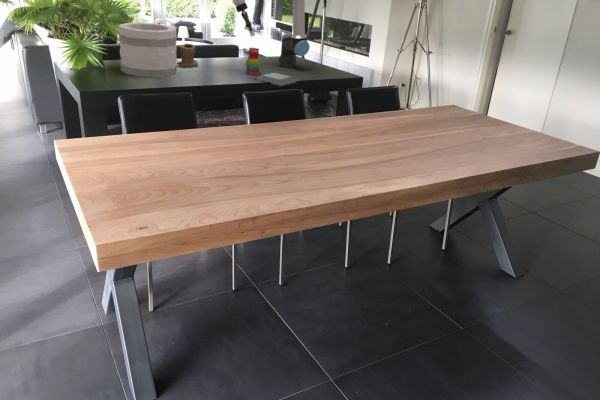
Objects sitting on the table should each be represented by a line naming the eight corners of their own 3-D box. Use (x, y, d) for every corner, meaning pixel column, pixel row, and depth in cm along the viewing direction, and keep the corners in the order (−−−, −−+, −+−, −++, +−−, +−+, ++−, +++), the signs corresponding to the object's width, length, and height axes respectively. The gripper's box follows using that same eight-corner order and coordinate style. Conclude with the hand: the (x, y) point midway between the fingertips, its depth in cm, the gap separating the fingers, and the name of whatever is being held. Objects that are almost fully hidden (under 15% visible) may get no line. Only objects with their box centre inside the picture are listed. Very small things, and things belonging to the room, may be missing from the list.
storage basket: (164, 64, 347) (163, 23, 335) (185, 76, 323) (185, 31, 311) (113, 66, 328) (110, 22, 316) (132, 78, 303) (129, 31, 291)
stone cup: (184, 68, 341) (183, 46, 334) (174, 65, 348) (174, 43, 342) (202, 67, 351) (203, 45, 344) (193, 63, 358) (193, 42, 352)
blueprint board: (272, 75, 350) (273, 70, 348) (299, 81, 340) (299, 77, 339) (253, 79, 333) (254, 74, 331) (280, 86, 323) (281, 81, 321)
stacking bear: (261, 73, 352) (263, 47, 344) (258, 76, 343) (260, 49, 335) (246, 71, 353) (247, 45, 345) (243, 74, 344) (244, 47, 336)
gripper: (235, 7, 342) (247, 37, 349) (235, 5, 318) (248, 38, 325) (245, 3, 341) (257, 33, 349) (245, 1, 318) (259, 33, 325)
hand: (253, 35), depth 337 cm, fingers open, 13 cm apart
